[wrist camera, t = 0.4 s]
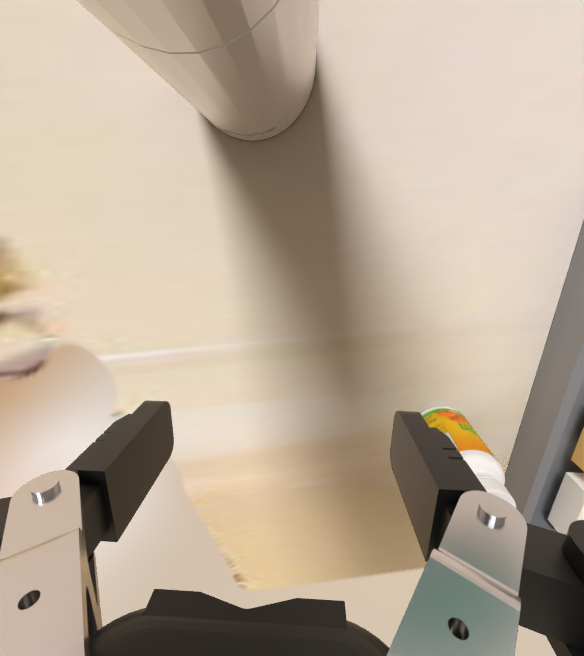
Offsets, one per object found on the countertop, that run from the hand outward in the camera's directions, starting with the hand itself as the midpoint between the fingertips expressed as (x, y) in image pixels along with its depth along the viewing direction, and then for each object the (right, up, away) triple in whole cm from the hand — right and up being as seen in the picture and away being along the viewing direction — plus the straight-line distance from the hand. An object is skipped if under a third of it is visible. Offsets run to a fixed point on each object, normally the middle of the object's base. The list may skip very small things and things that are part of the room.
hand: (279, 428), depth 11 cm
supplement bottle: (+15, -6, +21) cm, 27 cm away
